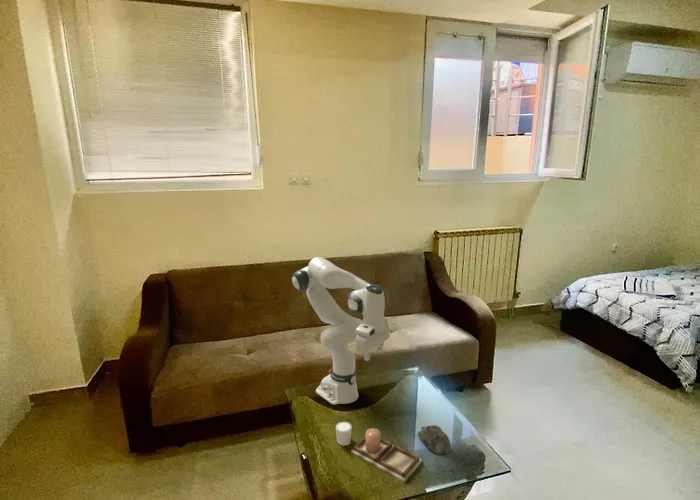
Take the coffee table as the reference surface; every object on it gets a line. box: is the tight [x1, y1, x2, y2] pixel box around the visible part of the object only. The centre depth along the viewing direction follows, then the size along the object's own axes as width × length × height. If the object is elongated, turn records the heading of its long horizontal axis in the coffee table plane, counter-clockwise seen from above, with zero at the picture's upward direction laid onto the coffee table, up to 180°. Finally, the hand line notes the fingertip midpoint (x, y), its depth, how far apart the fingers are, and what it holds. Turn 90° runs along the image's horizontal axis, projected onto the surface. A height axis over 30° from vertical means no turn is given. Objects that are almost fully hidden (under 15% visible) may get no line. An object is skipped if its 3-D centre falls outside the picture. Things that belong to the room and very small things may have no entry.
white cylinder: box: [335, 421, 353, 447], centre depth 164 cm, size 7×7×7 cm
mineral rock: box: [417, 424, 452, 456], centre depth 161 cm, size 13×11×10 cm
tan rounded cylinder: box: [365, 427, 381, 454], centre depth 158 cm, size 6×6×7 cm
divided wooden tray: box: [350, 435, 423, 483], centre depth 155 cm, size 25×13×2 cm, turn 52°
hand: (373, 355), depth 165 cm, fingers open, 8 cm apart
